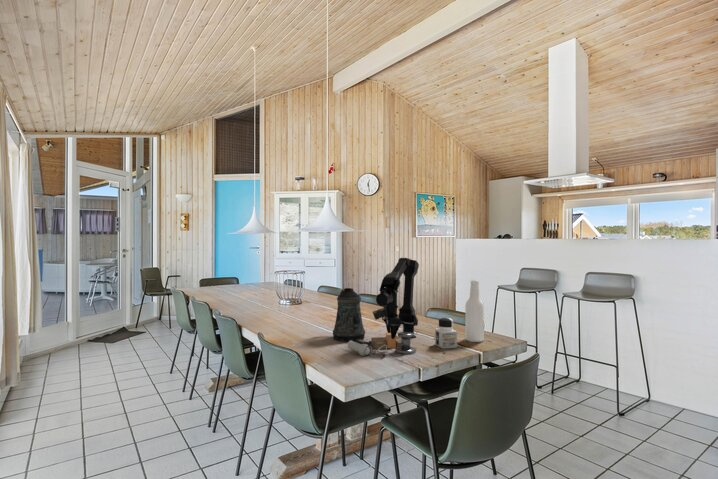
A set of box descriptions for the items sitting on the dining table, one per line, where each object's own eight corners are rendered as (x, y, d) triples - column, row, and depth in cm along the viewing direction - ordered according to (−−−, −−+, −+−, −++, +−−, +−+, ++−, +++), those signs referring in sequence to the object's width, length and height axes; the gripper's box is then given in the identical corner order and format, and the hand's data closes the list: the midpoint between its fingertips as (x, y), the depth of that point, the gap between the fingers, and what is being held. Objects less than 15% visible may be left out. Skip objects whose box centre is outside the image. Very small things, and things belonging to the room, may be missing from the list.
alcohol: (487, 341, 196) (487, 280, 196) (471, 343, 193) (472, 281, 193) (476, 337, 204) (477, 279, 204) (461, 338, 201) (462, 279, 201)
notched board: (371, 342, 193) (371, 337, 193) (403, 341, 195) (403, 336, 195) (374, 348, 182) (374, 343, 182) (409, 347, 184) (409, 342, 184)
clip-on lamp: (390, 360, 175) (355, 345, 184) (394, 346, 175) (359, 332, 184) (379, 365, 165) (343, 349, 173) (383, 350, 165) (346, 335, 173)
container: (442, 348, 183) (442, 320, 183) (434, 344, 190) (434, 317, 190) (457, 347, 185) (457, 319, 185) (449, 343, 192) (449, 316, 192)
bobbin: (393, 349, 182) (393, 331, 182) (413, 348, 183) (413, 331, 183) (398, 354, 173) (398, 336, 173) (418, 353, 174) (418, 335, 174)
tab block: (385, 345, 188) (386, 333, 188) (394, 345, 188) (394, 332, 188) (387, 348, 184) (387, 335, 184) (395, 347, 184) (396, 334, 184)
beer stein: (351, 344, 190) (351, 291, 190) (321, 338, 202) (321, 288, 202) (371, 337, 204) (371, 288, 204) (342, 332, 215) (342, 285, 215)
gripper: (370, 300, 194) (370, 332, 194) (377, 306, 176) (377, 341, 176) (393, 299, 196) (393, 331, 196) (401, 306, 177) (401, 341, 177)
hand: (390, 336), depth 186 cm, fingers open, 9 cm apart
